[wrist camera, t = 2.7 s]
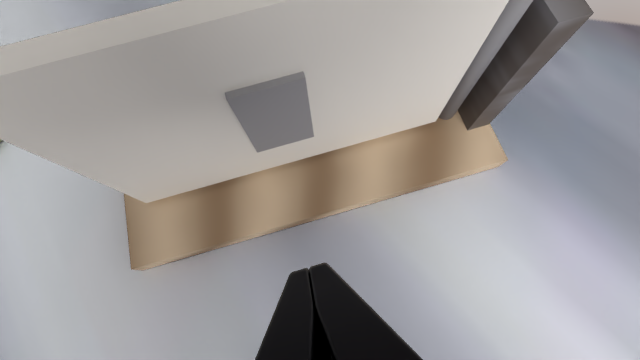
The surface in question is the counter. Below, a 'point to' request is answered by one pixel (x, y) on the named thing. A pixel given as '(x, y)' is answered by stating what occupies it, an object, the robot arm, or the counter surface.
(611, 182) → the counter surface
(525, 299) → the counter surface
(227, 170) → the door
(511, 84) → the door base
